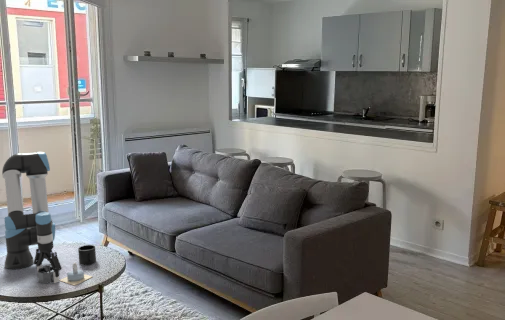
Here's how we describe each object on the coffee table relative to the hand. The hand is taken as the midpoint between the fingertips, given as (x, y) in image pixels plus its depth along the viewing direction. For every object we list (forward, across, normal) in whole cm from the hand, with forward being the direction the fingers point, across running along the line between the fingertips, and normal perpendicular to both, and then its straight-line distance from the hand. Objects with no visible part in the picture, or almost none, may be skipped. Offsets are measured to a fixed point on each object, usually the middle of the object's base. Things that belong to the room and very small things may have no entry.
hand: (48, 279), depth 260 cm
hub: (0, +12, +8) cm, 14 cm away
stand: (0, 0, 0) cm, 0 cm away
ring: (0, 0, 0) cm, 0 cm away
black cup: (0, 0, +27) cm, 27 cm away
